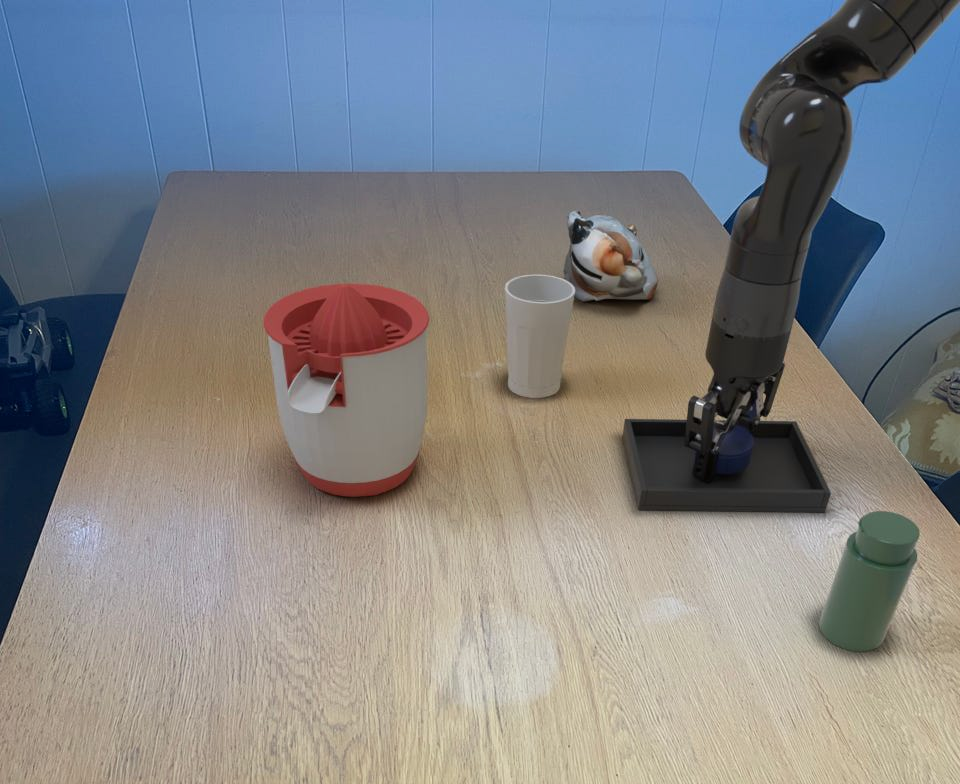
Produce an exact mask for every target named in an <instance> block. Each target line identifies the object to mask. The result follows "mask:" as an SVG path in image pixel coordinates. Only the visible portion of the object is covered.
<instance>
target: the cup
mask: <svg viewBox="0 0 960 784" xmlns="http://www.w3.org/2000/svg"><path fill="white" fill-rule="evenodd" d="M574 295H575V288H574V286H573V285H572V284H571V283H570V282H568V281H566V280H565V278H561V277H559V276H556V275H555V276H554V275H549V274H525V275H520V276H515V277H514V278H512V279H510V280H509V281H507V282H506V283H505V285H504V297H505V298H504V299H505V301H504V302H505V317H506V318H505V319H506V343H507V344H506V345H507V346H506V347H507V367H508V368H507V372H508V373H507V375H508V378H507V387H508V389H509V390H510V392H512V393H514V394H515V395H518V396H521V397H523V398H530V399H542V398H547V397H551V396H553V395H556V394H557V393H558V392H559V390H560V389H561V378H562V373H563V372H562V371H563V365H564V359H565V353H566V347H567V341H568V337H569V336H568V335H569V329H570V323H571V317H572V311H573V306H574V300H575V296H574Z"/></svg>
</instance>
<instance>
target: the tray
mask: <svg viewBox="0 0 960 784" xmlns="http://www.w3.org/2000/svg"><path fill="white" fill-rule="evenodd" d="M717 420H718V421H720V422H722V423H725V422H726V421H727V419H717ZM686 422H687V419H673V418H672V419H670V418H669V419H667V418H666V419H665V418H663V419H662V418H624V422H623V430H622V436H621V437H622V442H623V446H624V447H623V448H624V451H625V455H626V456H625V457H626V460H627V466H628V469H629V473H630V479H631V482H632V487H633V492H634V496H635V500H636V501H635V502H636V505H637V510H638V511H681V512H682V511H683V512H684V511H685V512H686V511H689V512H698V511H699V512H700V511H701V512H759V513H760V512H762V513H763V512H764V513H765V512H766V513H767V512H768V513H769V512H771V513H772V512H773V513H775V512H776V513H826V510H827V507H828V504H829V502H830V498H831V495H832V492H831V490H830V488H829V486H828V484H827V482H826V480H825V477H824V476H823V474H822V472H821V469H820V467H819V465H818V462H817V461H816V459H815V457H814V454H813V453H812V451H811V449H810V446H809V445H808V443H807V440H806V438H805V436H804V434H803V433H802V430H801V428H800V426H799V424H798V422H797V421H796V420H792V421H791V420H760V423H759V425H758V427H757V428H755V429H754V432H753V439H754V445H753V449H752V454H751V459H750V463H749V465H748V467H747V468H746V469H744V470H743V471H741V472H738V473H734V474H718V473H715V474H714V478H713V480H712V481H710V482H709V483H704V482H702V481H700V480H698V479H696V478H694V477H693V475H692V472H693V467H694V462H695V458H694V453H695V450H693V449H690V448H688V447H685V445H684V444H685V433H686ZM737 422H738V421H737ZM696 435H697V433H696Z"/></svg>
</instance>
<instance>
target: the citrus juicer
mask: <svg viewBox="0 0 960 784" xmlns="http://www.w3.org/2000/svg"><path fill="white" fill-rule="evenodd" d="M429 323H430V315H429V311H428V310H427V308H426V307H425V306H424V304H423V303H422V302H421V301H420V300H418V298H416V297H414V296H412V295H410V294H408V293H405V292H404V291H401V290H397V289H396V288H395V289H394V288H391V287H386V286H382V285H375V284H367V283H334V284H326V285H320V286H313V287H309V288H305V289H302V290H299V291H295V292H293V293H290V294H288V295H286V296H284V297H281V298H280V299H279V300H278V301H276V302H274V303H273V304H272V305H271V306H270V307H269V308H268V309H267V311H266V313H265V315H264V317H263V328H264V331H265V333H266V334H267V338H268V345H269V353H270V361H271V368H272V375H273V383H274V390H275V391H274V392H275V398H276V405H277V410H278V415H279V419H280V420H279V421H280V424H281V427H282V430H283V432H284V435H285V439H286V442H287V444H288V446H289V449H290V452H291V453H292V457H293V459H294V461H295V464H296V466H297V467H298V469H299V470H300V472H301V474H302V475H303V476H304V478H305V479H306V480H307V482H309V483H310V484H311V485H312V486H313V487H314V488H316V489H318V490H320V491H322V492H325V493H328V494H332V495H335V496H340V497H341V496H342V497H352V498H353V497H354V498H355V497H356V498H357V497H368V496H371V497H372V496H373V497H374V496H379V494H383V493H385V492H388V491H391V490H392V489H395V488H397V487H398V486H400V485H402V484H403V483H404V482H405V481H406V480H407V479H408V478H409V476H410V475H411V473H412V471H413V470H414V467H415V465H416V463H417V460H418V458H419V455H420V451H421V445H422V442H423V438H424V433H425V428H426V422H427V415H428V399H429V398H428V395H429V394H428V391H429V390H428V342H427V341H428V339H427V337H428V336H427V332H428V331H427V328H428V327H429Z"/></svg>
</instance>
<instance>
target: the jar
mask: <svg viewBox="0 0 960 784" xmlns="http://www.w3.org/2000/svg"><path fill="white" fill-rule="evenodd" d="M857 525H858V527H857V530H856V531H854V532H853V533H851V534H850V535H849V536H848V537H847V539H846V542H845V545H844V548H843V551H842V554H841V557H840V560H839V562H838V566H837V569H836V571H835V573H834V577H833V580H832V583H831V585H830V588H829V591H828V595H827V598H826V601H825V603H824V606H823V609H822V612H821V615H820V618H819V621H818V628H819V631H820V633H821V634H822V635H823V636H824V638H825V639H826V640H827V641H828V642H830V643H831V644H833V645H834V646H837V647H839V648H841V649H844V650H847V651H851V652H860V653H861V652H863V653H864V652H870V651H873V650H876V649H878V648H879V647H880V646H881V645H882V644H883V643H884V641H885V638H886V636H887V633H888V631H889V629H890V627H891V623H892V621H893V619H894V616H895V615H896V612H897V609H898V606H899V605H900V602H901V600H902V597H903V595H904V593H905V590H906V587H907V585H908V583H909V580H910V577H911V575H912V573H913V570H914V569H915V565H916V563H917V561H918V551H917V550H916V546H917V543H918V541H919V538H920V536H921V533H920V532H921V531H920V529H919V527H918V526H917V524H916V523H915V522H914V521H912V520H911V519H910V518H909V517H907V516H904V515H903V514H899V513H896V512H892V511H888V510H887V511H885V510H876V511H871V512H868V513H866V514H865V515H862V517H860V518H859V520H858V523H857Z"/></svg>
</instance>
